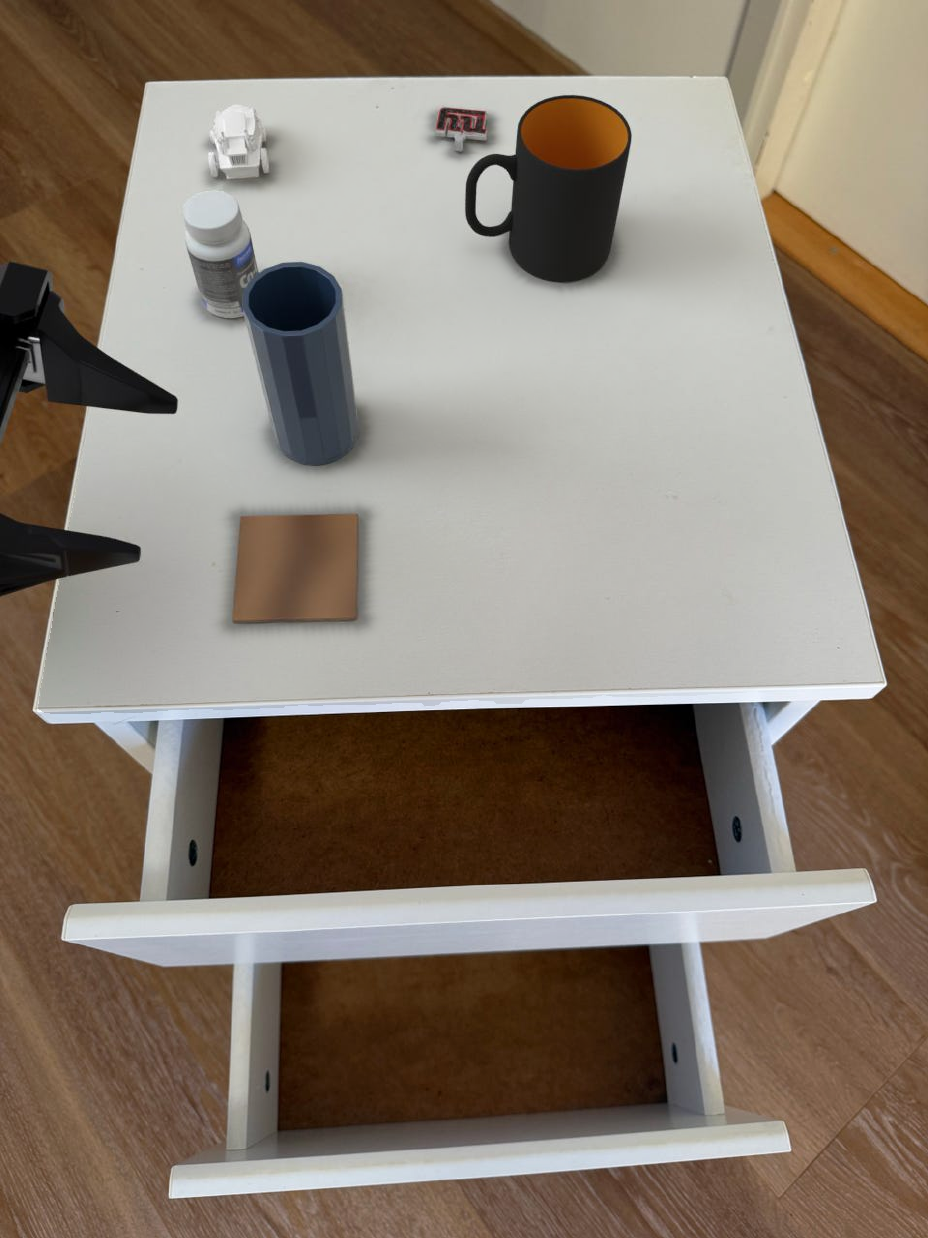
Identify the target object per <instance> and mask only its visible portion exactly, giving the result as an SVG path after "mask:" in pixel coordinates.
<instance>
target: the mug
mask: <svg viewBox="0 0 928 1238" xmlns="http://www.w3.org/2000/svg"><path fill="white" fill-rule="evenodd" d="M632 136H633V134H632V129H631V126H630V124H629V122H628V120H627V119H626V117H625V116H624V115H623V114H622V113H621V112H620V111H619V110H618V109H616V107H613V105H611V104H609V103H607V102H605V101H602V100H601V99H597V98H594V97H591V96H585V95H579V94H578V95H577V94H562V95H555V96H551V97H547V98H544V99H542V100H540V101H537V102H536V103H533V105H531V106H530V107H529V108H527V110H525V111H524V112H523V114H522V115H521V117H520V119H519V121H518V123H517V131H516V140H515V154H511V155H507V154H501V153H491V154H490V153H489V154H488V155H485V156H483V157H481V158H480V159H478V160H477V161H476V163H474V165H473V166H472V167H471V169H470V171H469V172H468V175H467V177H466V181H465V193H464V194H465V196H464V202H465V203H464V215H465V220H466V222H467V224H468V226H469V227H470V229H471V230H472V231H473V232H474V233H475V234H476V235H479V236H483V237H488V238H495V237H500V236H502V235H504V234H507V233H508V232H509V235H508V248H509V251H510V254H511V256H512V258H513V260H514V261H515V263H516V264H517V265H518V266H519V267H520V268H521V269H523V270H524V271H525V272H526V273H528V274H529V275H532V276H533V277H535V278H538V279H540V280H542V281H543V280H544V281H547V282H548V281H549V282H554V283H572V282H577V281H578V282H579V281H581V280H585V279H587V278H590V277H591V276H593V275H594V274H596V273H597V272H599V271H600V270H601V269H602V268H603V267H604V266H605V265H606V263H607V261H608V259H609V257H610V255H611V250H612V245H613V244H612V243H613V238H614V234H615V229H616V224H617V218H618V214H619V209H620V203H621V198H622V193H623V189H624V188H623V187H624V182H625V177H626V173H627V168H628V167H627V166H628V161H629V157H630V151H631V145H632ZM492 166H498V167H501V168H502V169H504V170H505V171H506V172H507V174H508V176H509V177H510V180H512V191H511V192H512V193H511V207H510V211H509V212H508V213H507V216H506V217H505V219H504V220H503V221H502V222H501V223H500V224H498V225H493V226H487V225H484V224H483V223H481V222H480V220H479V219H478V216H477V209H476V208H477V207H476V206H477V186H478V181H479V179H480V177H481V175H482V174H483V173H484V172H485V170H487V169H488V168H490V167H492Z"/></svg>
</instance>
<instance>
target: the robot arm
mask: <svg viewBox="0 0 928 1238" xmlns="http://www.w3.org/2000/svg"><path fill="white" fill-rule="evenodd" d="M53 283H54V282H53V275H52V270H50V269H45V268H41V267H38V266H34V265H30V264H25V263H22V262H17V261H16V262H15V261H7V262H6V263H3V264H2V265H0V445H1V443H2V441H3V438H4V435H5V432H6V429H7V426H8V423H9V420H10V418H11V414H12V411H13V408H14V406H15V403H16V400H17V397H18V395H19V392H20V393H24V394H28V393H30V392H33V391H35V390H39V389H40V388H42V387H45V392H46V399H47V402H49V403H55V404H63V405H64V404H65V405H72V406H79V407H89V408H97V409H105V410H114V411H123V412H129V413H138V414H147V415H148V414H149V415H152V414H153V415H175V414H177V412H178V407H179V400H178V397H177V396H176V395H175V394H173V393H171V392H170V391H168V390H166V389H165V388H163V387H161V386H160V385H158V384H157V383H155V382H153V381H151V380H150V379H148V378H147V377H145V376H143V375H142V374H139V373H138V372H136V371H135V370H134V369H132V368H130V367H128V366H127V365H125V364H123V363H122V362H120V361H118V360H116V359H115V358H113V357H112V356H110V355H109V354H107V353H106V352H104V351H103V350H101V349H100V348H99V347H97V346H96V345H95V344H93V343H92V342H91V341H89V340H88V339H87V338H86V337H84V336H83V335H82V334H81V333H80V332H79V331H78V330H77V329H76V327H75V326H74V325H73V324H72V322H71V320H69V318H68V317H67V315H66V310H65V303H64V302H65V301H64V298H63V296H61V295H60V294H59V293H57V292H56V291H54V284H53ZM141 557H142V548H141V546H140V545H138V544H135V543H132V542H129V541H125V540H121V539H118V538H114V537H110V536H105V535H99V534H92V533H86V532H82V531H74V530H68V529H62V528H57V527H50V526H44V525H37V524H31V523H26V522H21V521H19V520H16V519H15V518H12V517H9V516H8V515H6V514H4V513H3V512H0V598H1V597H4V596H7V595H10V594H13V593H17V592H19V591H23V590H27V589H29V588H32V587H35V586H38V585H41V584H45V583H48V582H51V581H56V580H59V579H65V578H69V577H74V576H78V575H83V574H88V573H93V572H97V571H102V570H107V569H111V568H112V569H113V568H116V567H121V566H125V565H126V566H127V565H132V564H136V563H138V562H140V560H141Z"/></svg>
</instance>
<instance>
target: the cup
mask: <svg viewBox="0 0 928 1238" xmlns="http://www.w3.org/2000/svg"><path fill="white" fill-rule="evenodd" d="M242 309H243V313H244V316H243V318H244V320H245V324H246V329H247V333H248V337H249V341H250V344H251V349H252V352H253V356H254V361H255V364H256V369H257V373H258V377H259V381H260V385H261V389H262V393H263V397H264V401H265V405H266V409H267V413H268V418H269V421H270V425H271V430H272V433H273V436H274V438H275V442H276V445H277V447H278V448H279V450H280V451H281V453H283V454H284V455H285V456H286V457H287V458H289V459H290V460H291V461H293V462H296V463H299V464H302V465H307V466H322V465H323V466H324V465H327V464H330V463H331V464H332V463H334V462H336V461H338V460H341V459H342V458H343V457H344V456H346V455H347V454H348V453H349V452H350V451H351V450H352V449H353V448H354V446H355V444H356V442H357V439H358V437H359V421H358V420H359V419H358V411H357V404H356V403H357V402H356V395H355V394H356V393H355V386H354V377H353V369H352V363H351V352H350V345H349V337H348V329H347V328H348V327H347V321H346V312H345V311H346V310H345V303H344V295H343V289H342V286H341V285H340V283H339V282H338V280H337V278H336V277H335V276H334V275H333V274H331V273H330V272H329V271H327V270H326V269H324V268H323V267H321V266H319V265H316V264H312V263H308V262H304V261H290V262H289V261H287V262H280V263H277V264H274V265H272V266H269V267H266V268H264V269H262V270H261V271H259V273H258V274H257V275H256V276H255V277H253V278H252V279H251V280H250V281H249V283H248V285H247V287H246V288H245V290H244V292H243V298H242Z"/></svg>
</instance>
